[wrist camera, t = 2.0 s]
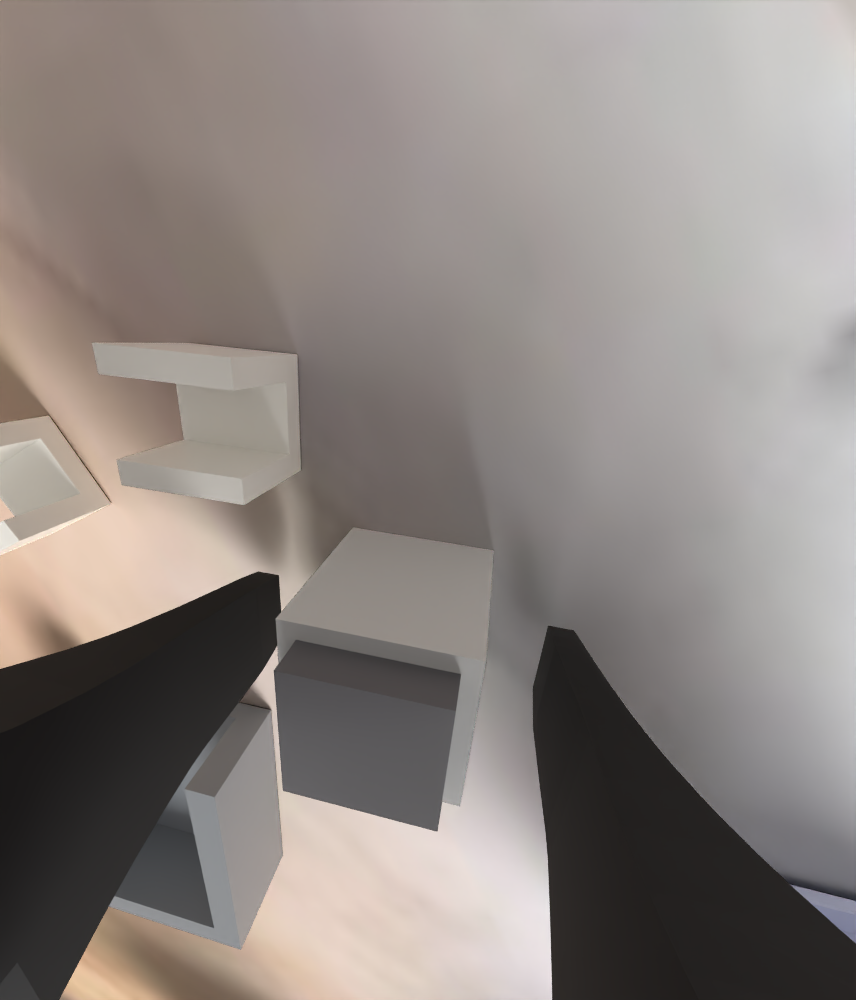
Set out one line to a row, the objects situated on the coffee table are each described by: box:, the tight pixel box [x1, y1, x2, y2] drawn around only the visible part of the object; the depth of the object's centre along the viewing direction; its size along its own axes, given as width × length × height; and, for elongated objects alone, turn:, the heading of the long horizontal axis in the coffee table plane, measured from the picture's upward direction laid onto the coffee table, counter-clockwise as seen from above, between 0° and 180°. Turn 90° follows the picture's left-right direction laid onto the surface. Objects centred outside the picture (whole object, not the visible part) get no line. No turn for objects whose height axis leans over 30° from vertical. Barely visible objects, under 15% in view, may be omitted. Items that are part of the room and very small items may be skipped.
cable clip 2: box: [92, 343, 301, 505], centre depth 9 cm, size 3×3×3 cm
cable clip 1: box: [0, 416, 111, 555], centre depth 12 cm, size 3×3×3 cm
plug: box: [274, 527, 494, 831], centre depth 10 cm, size 4×4×5 cm
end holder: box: [109, 703, 283, 950], centre depth 16 cm, size 8×9×3 cm
